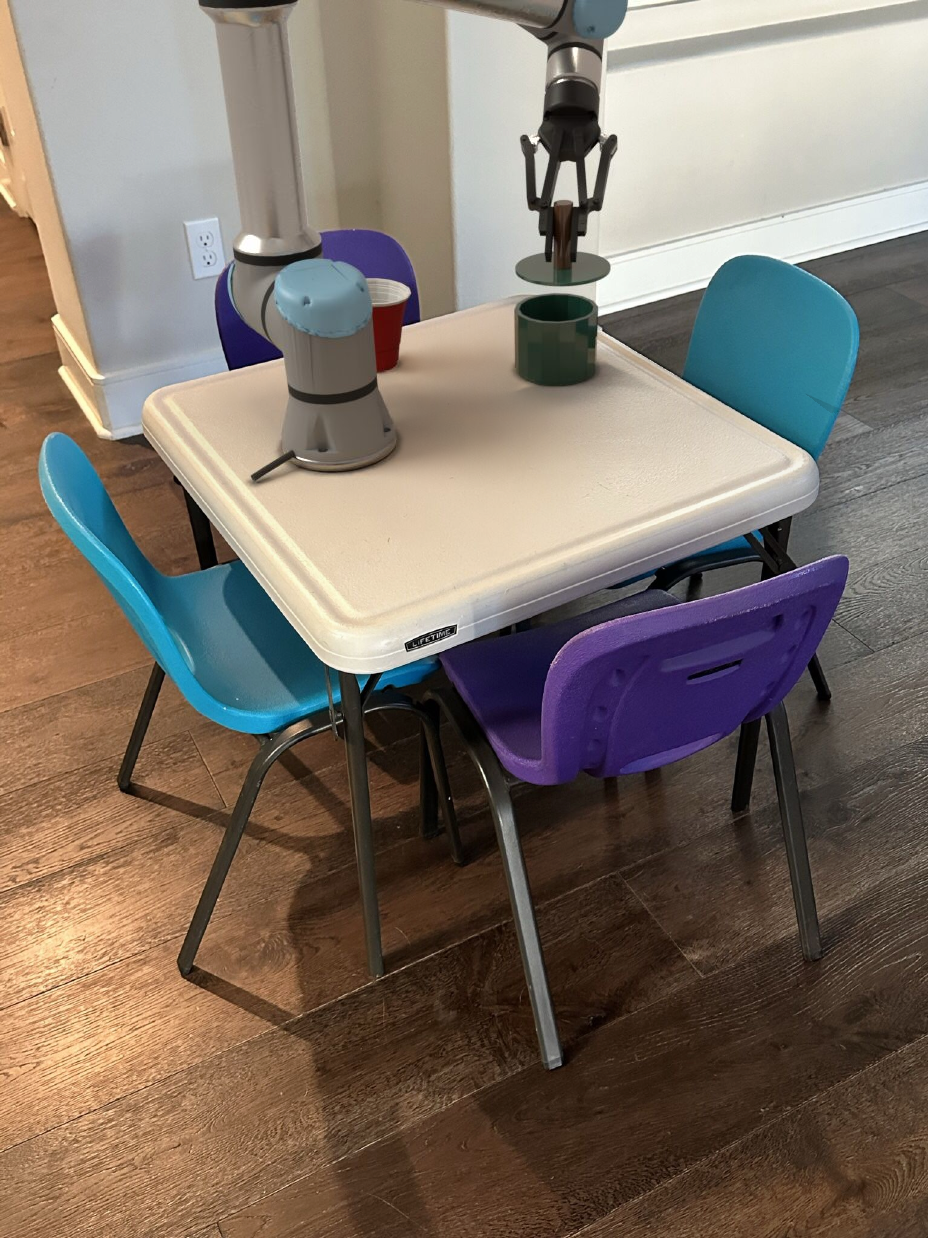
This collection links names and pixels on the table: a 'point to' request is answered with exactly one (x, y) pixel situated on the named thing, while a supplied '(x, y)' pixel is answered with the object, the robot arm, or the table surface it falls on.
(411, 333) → the table surface
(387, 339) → the plastic cup
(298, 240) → the robot arm
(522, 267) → the lid
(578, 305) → the pot
